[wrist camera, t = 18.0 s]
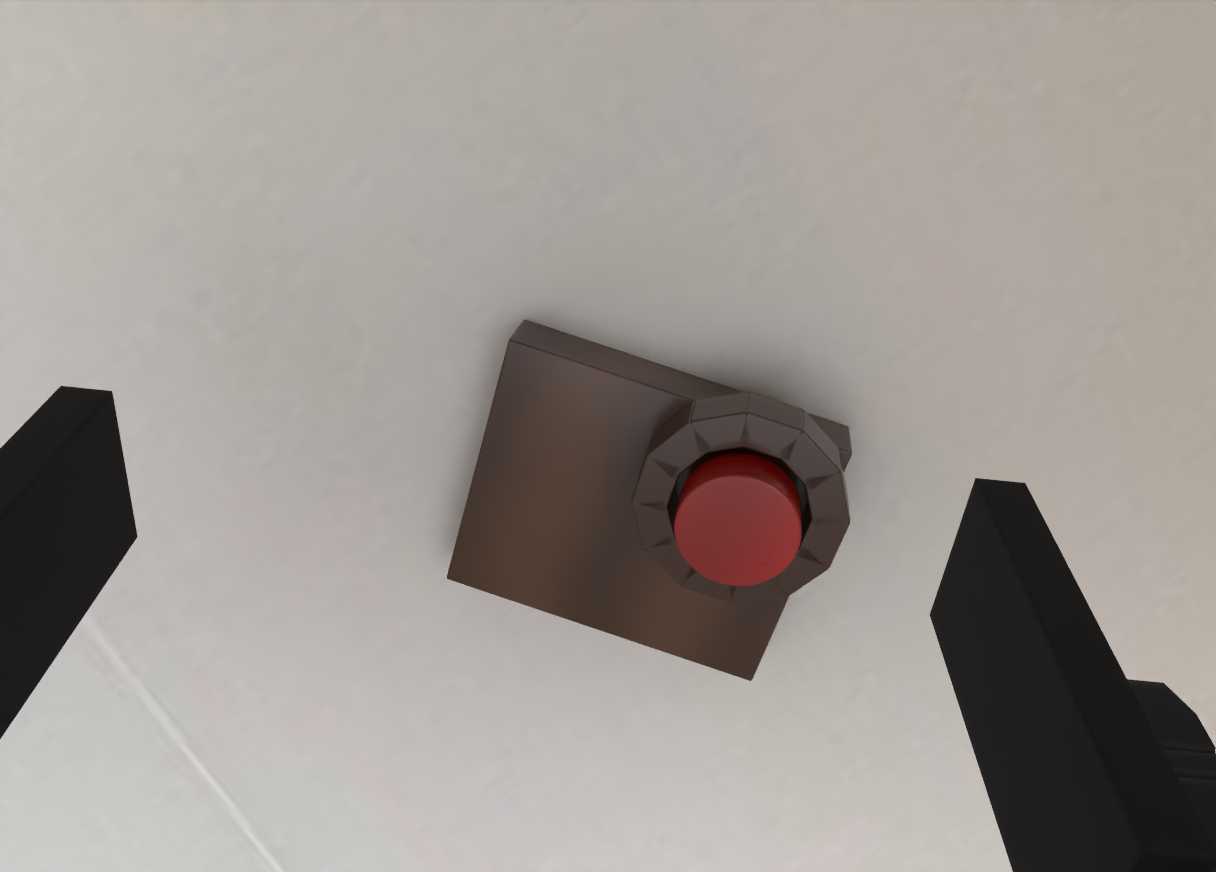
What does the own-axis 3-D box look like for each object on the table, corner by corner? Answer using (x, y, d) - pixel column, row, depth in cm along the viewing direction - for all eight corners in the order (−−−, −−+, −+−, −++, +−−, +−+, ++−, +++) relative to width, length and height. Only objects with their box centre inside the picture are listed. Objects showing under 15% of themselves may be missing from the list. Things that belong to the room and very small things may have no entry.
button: (819, 474, 34) (820, 500, 33) (776, 574, 36) (775, 602, 35) (700, 435, 34) (696, 458, 33) (663, 536, 36) (657, 563, 35)
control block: (872, 406, 37) (881, 456, 33) (764, 651, 42) (762, 717, 38) (530, 294, 37) (502, 330, 34) (462, 549, 42) (431, 605, 38)
